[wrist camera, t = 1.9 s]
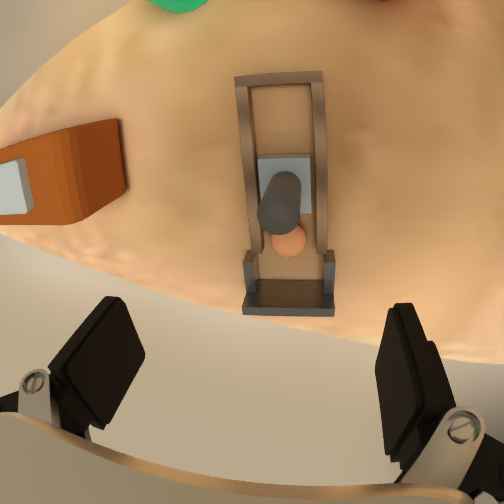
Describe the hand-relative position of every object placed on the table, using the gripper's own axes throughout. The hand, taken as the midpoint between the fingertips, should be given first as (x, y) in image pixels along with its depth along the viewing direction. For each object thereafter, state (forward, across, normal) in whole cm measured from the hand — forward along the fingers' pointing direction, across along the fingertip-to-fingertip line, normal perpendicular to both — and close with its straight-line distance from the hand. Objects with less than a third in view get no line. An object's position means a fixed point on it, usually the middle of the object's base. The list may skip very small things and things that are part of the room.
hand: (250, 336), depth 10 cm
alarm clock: (+21, +28, -5) cm, 36 cm away
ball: (+19, 0, +5) cm, 20 cm away
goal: (+21, 0, +10) cm, 23 cm away
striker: (+21, 0, 0) cm, 21 cm away
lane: (+20, 0, -1) cm, 21 cm away
